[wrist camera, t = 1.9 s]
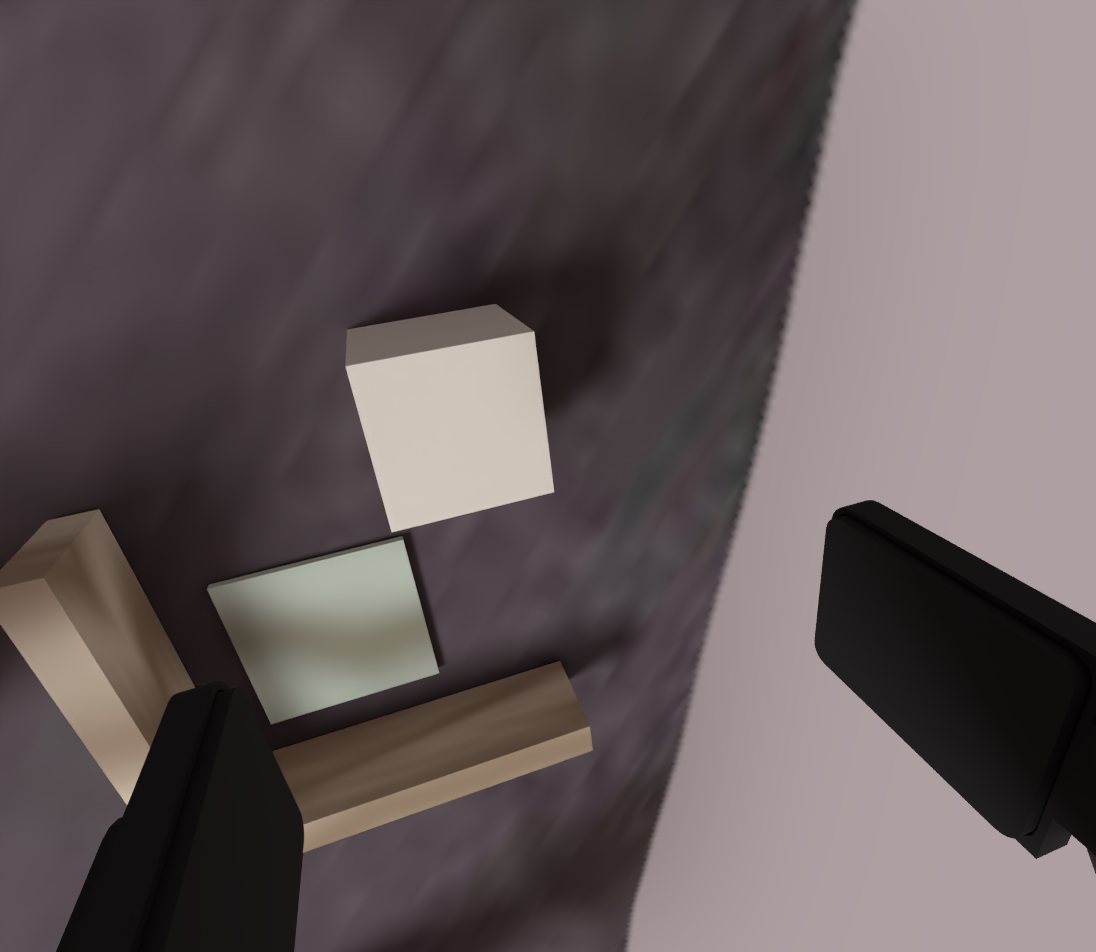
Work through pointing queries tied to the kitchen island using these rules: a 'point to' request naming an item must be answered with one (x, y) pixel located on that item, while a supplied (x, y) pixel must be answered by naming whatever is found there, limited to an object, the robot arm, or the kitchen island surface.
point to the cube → (450, 412)
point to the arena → (282, 675)
